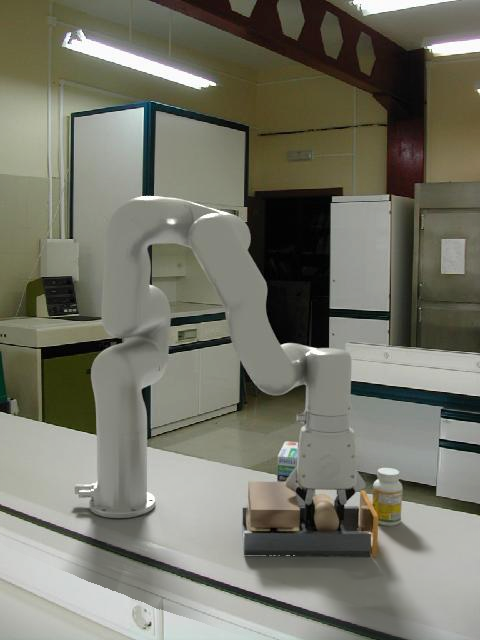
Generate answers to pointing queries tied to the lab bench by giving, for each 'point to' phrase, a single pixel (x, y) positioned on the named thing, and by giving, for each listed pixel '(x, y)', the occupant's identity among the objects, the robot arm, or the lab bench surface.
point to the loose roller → (325, 513)
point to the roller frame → (317, 535)
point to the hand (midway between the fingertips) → (324, 522)
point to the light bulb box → (288, 465)
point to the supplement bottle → (387, 497)
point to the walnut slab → (272, 505)
